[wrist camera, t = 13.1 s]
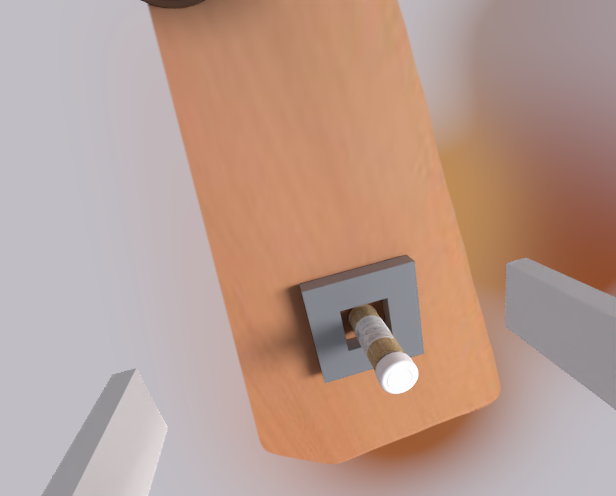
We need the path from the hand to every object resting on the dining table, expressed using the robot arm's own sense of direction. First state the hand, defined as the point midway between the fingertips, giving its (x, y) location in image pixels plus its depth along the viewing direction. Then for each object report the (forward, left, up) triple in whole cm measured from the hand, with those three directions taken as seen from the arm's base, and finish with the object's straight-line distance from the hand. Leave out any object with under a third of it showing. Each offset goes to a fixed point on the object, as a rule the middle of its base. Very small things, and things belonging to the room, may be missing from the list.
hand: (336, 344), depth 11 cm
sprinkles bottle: (+21, +8, -31) cm, 38 cm away
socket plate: (+21, +8, -31) cm, 38 cm away
